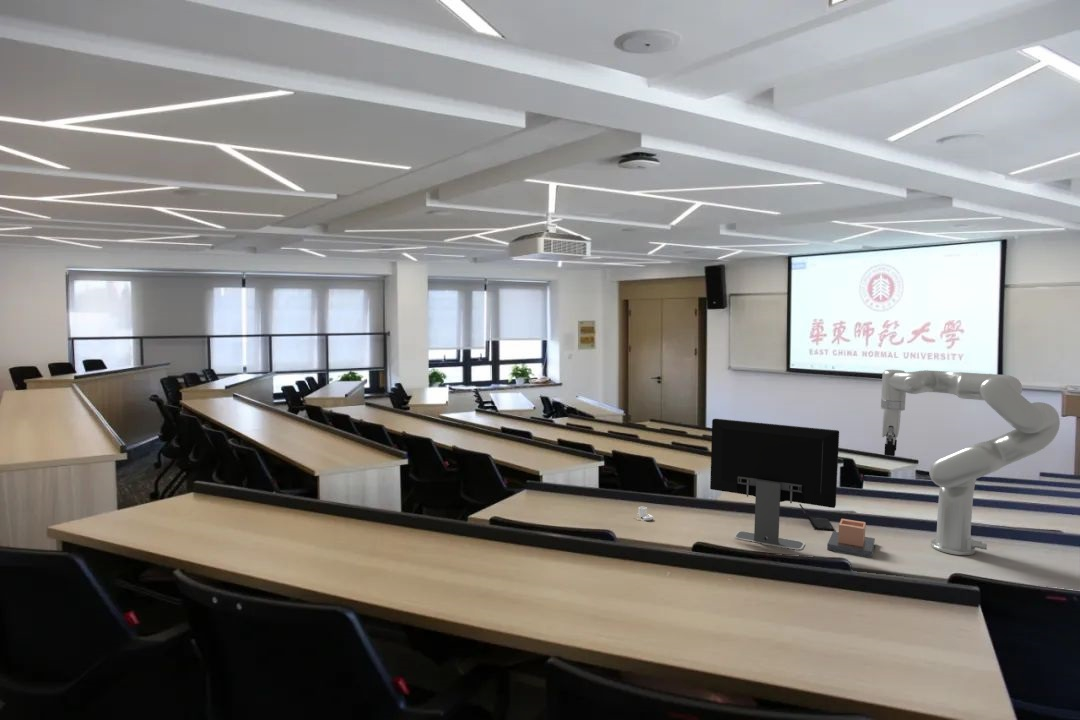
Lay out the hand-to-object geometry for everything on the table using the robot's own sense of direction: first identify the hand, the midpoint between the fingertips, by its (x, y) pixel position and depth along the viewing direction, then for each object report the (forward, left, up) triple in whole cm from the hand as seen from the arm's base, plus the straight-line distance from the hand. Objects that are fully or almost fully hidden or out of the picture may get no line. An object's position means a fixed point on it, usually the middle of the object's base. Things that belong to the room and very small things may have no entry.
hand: (890, 452), depth 235 cm
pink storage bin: (+9, +24, -26) cm, 37 cm away
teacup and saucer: (+80, +35, -29) cm, 92 cm away
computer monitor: (+34, +33, -28) cm, 55 cm away
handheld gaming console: (+22, +6, -29) cm, 37 cm away
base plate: (+9, +24, -28) cm, 38 cm away
